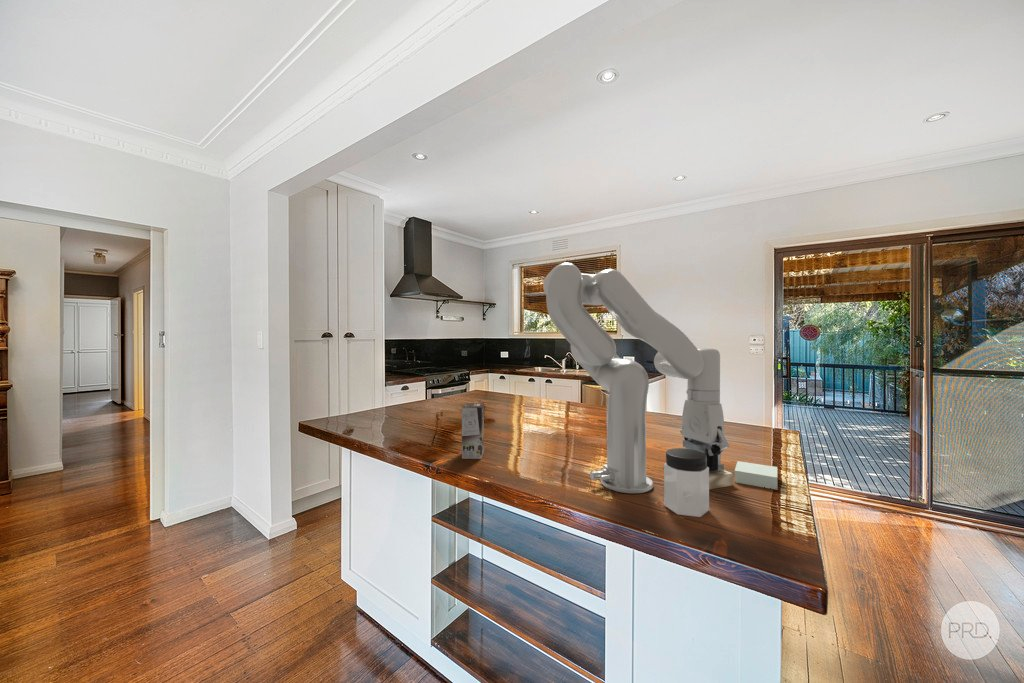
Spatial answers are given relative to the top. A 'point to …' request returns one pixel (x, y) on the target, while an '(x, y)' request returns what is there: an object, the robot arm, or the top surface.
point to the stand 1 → (720, 479)
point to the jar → (686, 482)
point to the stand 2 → (756, 475)
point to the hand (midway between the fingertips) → (703, 466)
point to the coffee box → (472, 430)
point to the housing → (702, 448)
